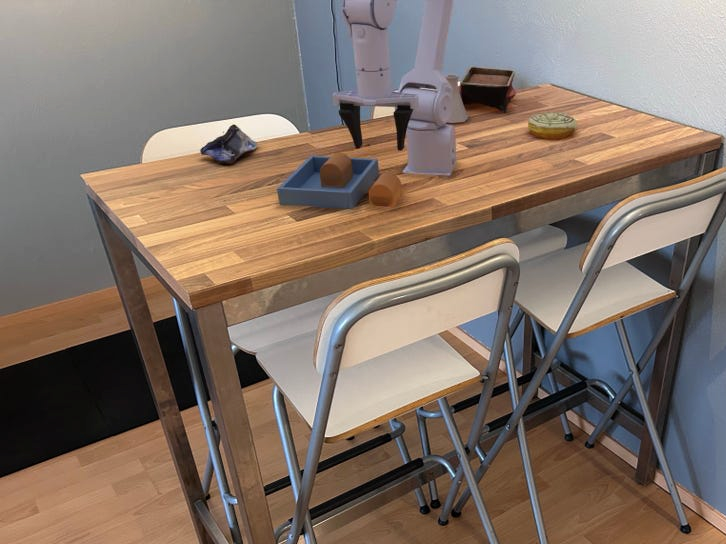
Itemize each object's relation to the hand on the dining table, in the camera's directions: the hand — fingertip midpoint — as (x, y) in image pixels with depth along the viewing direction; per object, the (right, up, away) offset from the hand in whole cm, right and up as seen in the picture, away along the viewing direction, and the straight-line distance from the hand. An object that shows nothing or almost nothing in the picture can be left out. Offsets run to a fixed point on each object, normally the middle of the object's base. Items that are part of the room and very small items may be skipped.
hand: (380, 147), depth 131 cm
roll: (-10, -3, +10) cm, 15 cm away
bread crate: (-10, -6, +8) cm, 14 cm away
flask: (+11, +19, +44) cm, 49 cm away
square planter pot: (+19, +26, +54) cm, 63 cm away
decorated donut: (+34, +13, +35) cm, 50 cm away
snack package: (-34, +5, +24) cm, 42 cm away
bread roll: (+1, -9, +3) cm, 10 cm away
